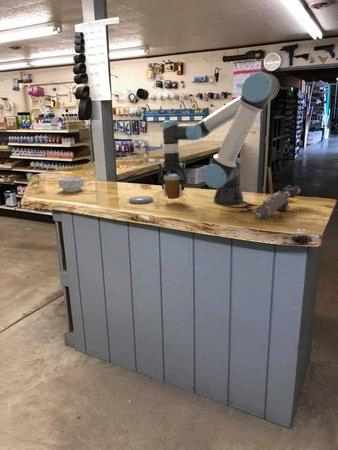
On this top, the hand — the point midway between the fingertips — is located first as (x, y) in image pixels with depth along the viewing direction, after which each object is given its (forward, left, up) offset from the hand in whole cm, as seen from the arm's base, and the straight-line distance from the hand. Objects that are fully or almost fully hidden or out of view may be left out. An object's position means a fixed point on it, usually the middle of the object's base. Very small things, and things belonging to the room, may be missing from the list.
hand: (173, 196), depth 193 cm
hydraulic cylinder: (-52, +7, -4) cm, 53 cm away
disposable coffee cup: (0, 0, -1) cm, 1 cm away
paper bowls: (+72, -16, -4) cm, 74 cm away
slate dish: (+18, 0, -4) cm, 19 cm away
